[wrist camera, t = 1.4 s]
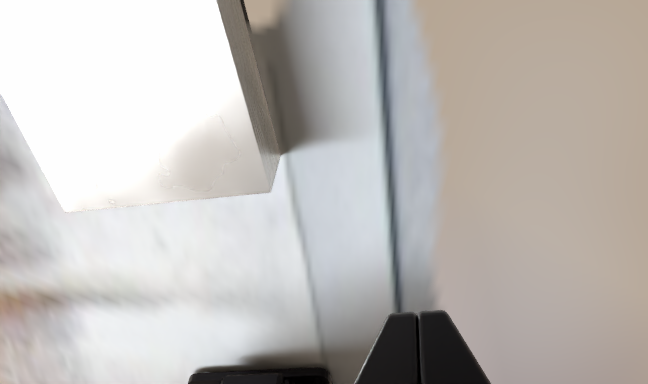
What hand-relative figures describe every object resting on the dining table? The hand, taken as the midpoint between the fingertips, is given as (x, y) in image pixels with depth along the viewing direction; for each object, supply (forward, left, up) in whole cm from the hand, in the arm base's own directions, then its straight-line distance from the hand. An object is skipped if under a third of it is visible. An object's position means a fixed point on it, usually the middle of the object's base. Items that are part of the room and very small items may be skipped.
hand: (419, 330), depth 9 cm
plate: (0, +8, -11) cm, 14 cm away
